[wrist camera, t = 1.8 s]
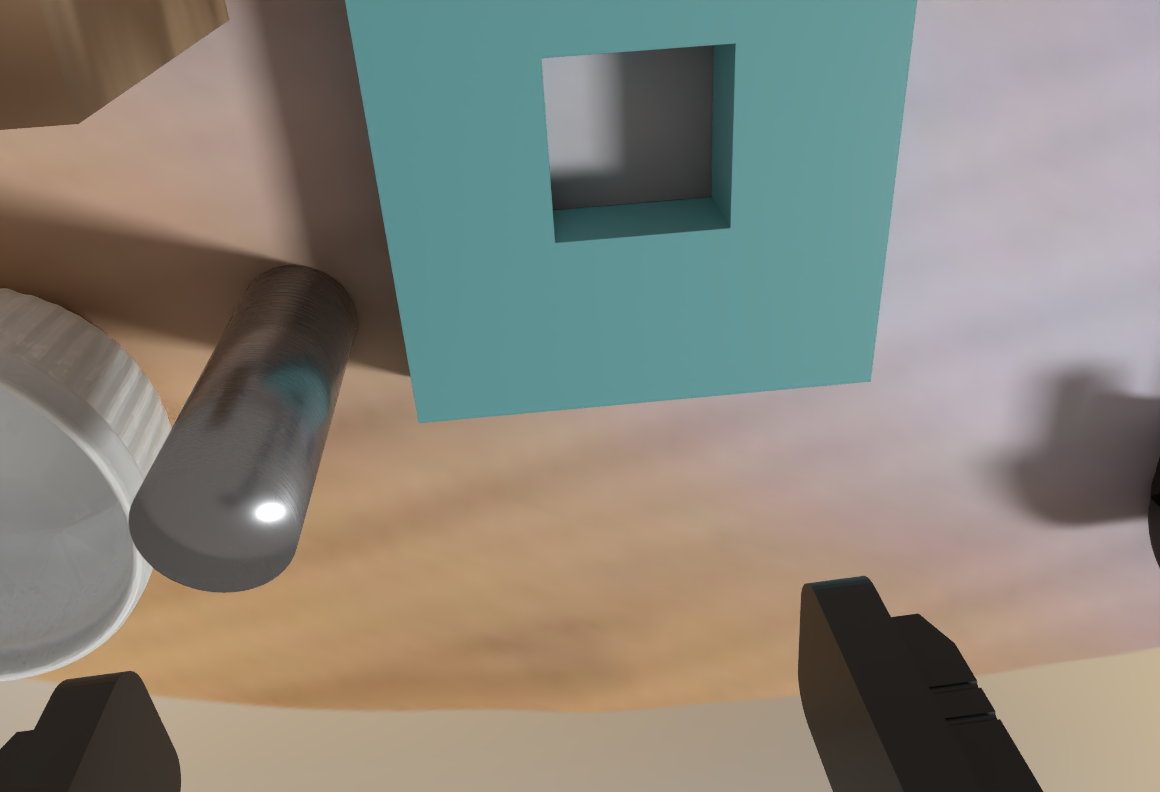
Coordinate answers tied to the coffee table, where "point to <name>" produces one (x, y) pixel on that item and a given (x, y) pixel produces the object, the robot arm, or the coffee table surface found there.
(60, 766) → the robot arm
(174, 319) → the coffee table surface
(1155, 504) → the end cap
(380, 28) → the socket block
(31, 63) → the square peg
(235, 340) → the round peg
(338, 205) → the coffee table surface
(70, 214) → the coffee table surface
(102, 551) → the ramekin
